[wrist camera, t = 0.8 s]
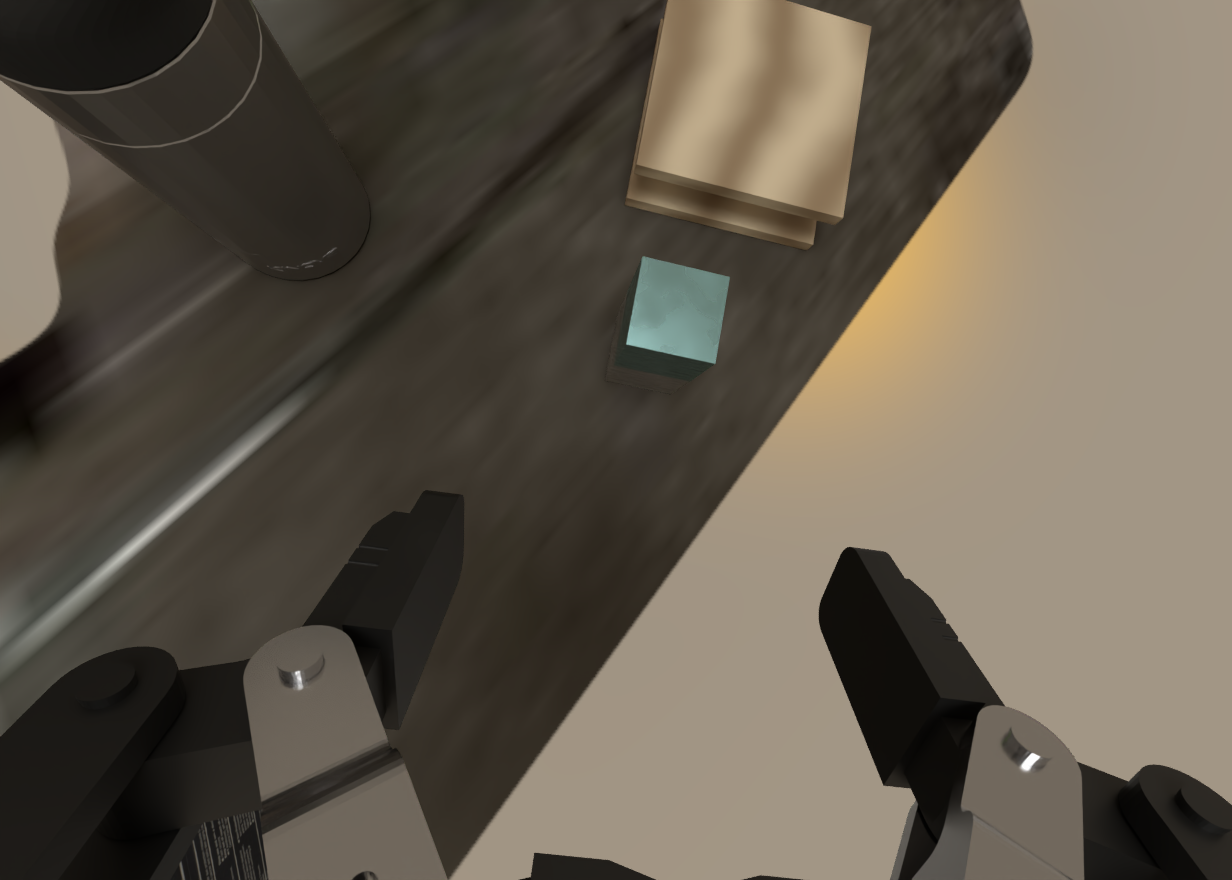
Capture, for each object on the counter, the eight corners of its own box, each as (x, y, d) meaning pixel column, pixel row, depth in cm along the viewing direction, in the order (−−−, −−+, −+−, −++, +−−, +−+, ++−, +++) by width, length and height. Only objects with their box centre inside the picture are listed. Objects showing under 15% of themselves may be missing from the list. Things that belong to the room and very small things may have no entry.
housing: (604, 380, 38) (626, 344, 28) (617, 315, 38) (642, 256, 28) (670, 394, 38) (715, 363, 28) (682, 329, 39) (729, 277, 29)
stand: (624, 205, 39) (636, 164, 34) (658, 30, 40) (674, -34, 35) (806, 250, 40) (843, 217, 35) (832, 80, 42) (871, 26, 37)
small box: (162, 725, 32) (-18, 838, 22) (277, 694, 33) (156, 789, 23) (194, 904, 32) (26, 1107, 22) (310, 868, 33) (202, 1045, 22)
